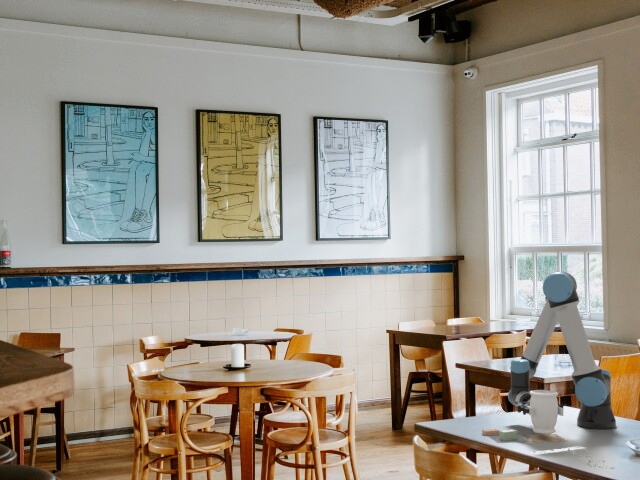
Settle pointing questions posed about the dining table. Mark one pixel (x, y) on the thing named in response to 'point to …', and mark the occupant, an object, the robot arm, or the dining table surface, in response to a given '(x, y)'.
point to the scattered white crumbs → (588, 458)
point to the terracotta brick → (490, 432)
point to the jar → (544, 410)
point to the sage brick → (508, 434)
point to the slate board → (519, 439)
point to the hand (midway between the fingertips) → (547, 412)
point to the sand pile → (544, 438)
